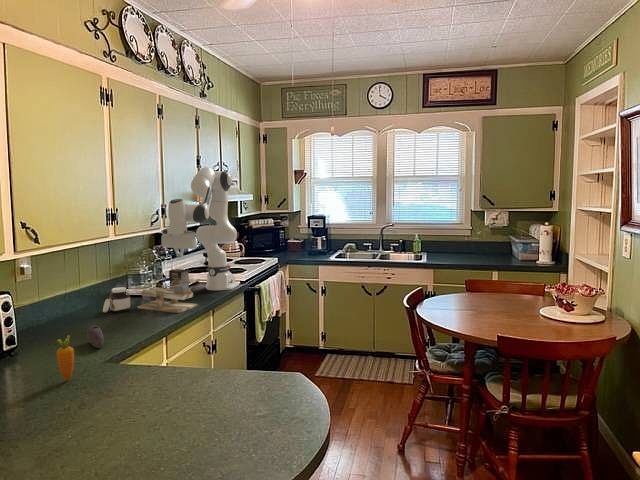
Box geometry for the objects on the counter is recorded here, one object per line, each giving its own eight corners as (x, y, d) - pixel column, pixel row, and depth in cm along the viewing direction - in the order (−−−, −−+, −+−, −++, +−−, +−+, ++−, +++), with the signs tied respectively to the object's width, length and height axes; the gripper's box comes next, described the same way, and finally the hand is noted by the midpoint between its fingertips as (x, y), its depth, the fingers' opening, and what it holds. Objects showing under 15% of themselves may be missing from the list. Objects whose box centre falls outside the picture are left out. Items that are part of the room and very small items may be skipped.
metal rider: (179, 292, 250) (178, 284, 250) (188, 293, 248) (188, 285, 247) (173, 294, 246) (173, 285, 246) (183, 295, 244) (183, 286, 244)
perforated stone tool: (107, 349, 188) (106, 332, 187) (92, 352, 185) (91, 334, 184) (100, 339, 200) (99, 323, 199) (86, 341, 197) (85, 325, 196)
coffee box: (169, 298, 272) (168, 270, 270) (178, 296, 277) (176, 268, 275) (181, 300, 267) (180, 271, 265) (190, 297, 273) (188, 269, 271)
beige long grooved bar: (152, 296, 260) (152, 284, 260) (193, 301, 250) (192, 289, 249) (141, 299, 253) (141, 287, 252) (183, 304, 243) (182, 292, 242)
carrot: (58, 385, 154) (55, 340, 152) (59, 379, 158) (55, 335, 156) (76, 382, 156) (72, 337, 154) (75, 376, 160) (72, 333, 159)
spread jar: (133, 310, 246) (131, 288, 245) (113, 315, 237) (111, 292, 236) (118, 307, 253) (117, 285, 251) (98, 312, 243) (97, 289, 242)
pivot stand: (157, 301, 264) (156, 283, 263) (197, 305, 254) (196, 287, 252) (137, 308, 250) (136, 289, 249) (179, 313, 240) (178, 293, 239)
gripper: (198, 230, 249) (200, 256, 251) (166, 229, 257) (168, 254, 259) (190, 231, 243) (192, 258, 245) (158, 230, 251) (160, 256, 253)
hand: (179, 256), depth 252 cm, fingers closed
